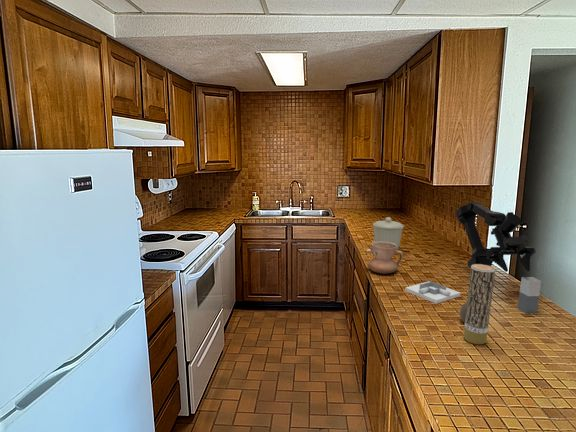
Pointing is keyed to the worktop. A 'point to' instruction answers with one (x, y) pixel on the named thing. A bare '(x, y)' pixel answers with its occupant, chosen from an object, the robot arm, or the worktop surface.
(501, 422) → the worktop surface
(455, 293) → the plate
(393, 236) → the canister
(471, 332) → the bark covered log
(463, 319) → the vase
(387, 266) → the ceramic jug
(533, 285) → the silver metal block
